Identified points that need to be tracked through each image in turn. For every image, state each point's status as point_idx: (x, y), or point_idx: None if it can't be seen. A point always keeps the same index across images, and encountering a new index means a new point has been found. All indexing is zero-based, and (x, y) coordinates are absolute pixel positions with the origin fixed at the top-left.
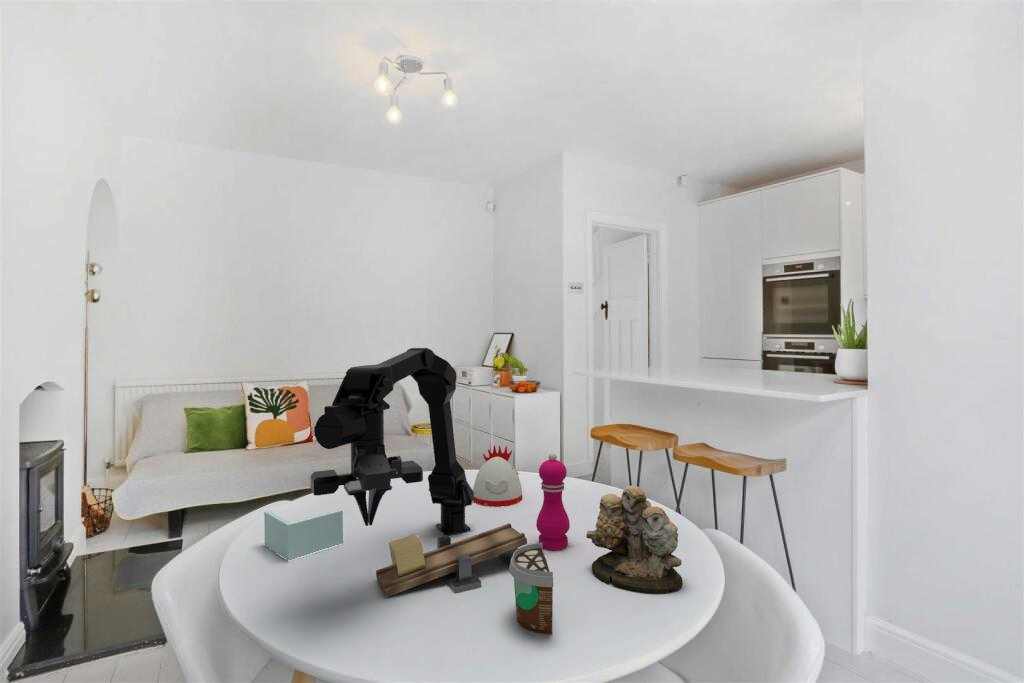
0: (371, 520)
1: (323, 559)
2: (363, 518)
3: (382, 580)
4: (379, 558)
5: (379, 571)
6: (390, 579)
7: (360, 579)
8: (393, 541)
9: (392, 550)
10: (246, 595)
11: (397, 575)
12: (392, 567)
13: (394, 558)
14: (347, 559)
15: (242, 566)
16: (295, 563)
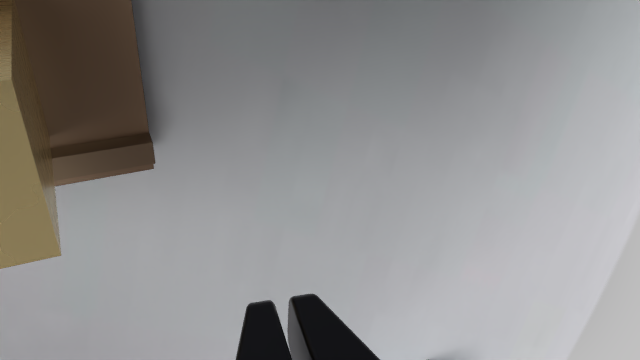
0: (264, 340)
1: None
2: (371, 357)
3: (127, 57)
4: (111, 331)
5: (137, 144)
6: (76, 40)
7: (224, 177)
8: (16, 254)
9: (34, 148)
10: (607, 187)
11: (23, 37)
12: (53, 155)
13: (26, 97)
14: None
15: (540, 354)
16: (414, 347)
